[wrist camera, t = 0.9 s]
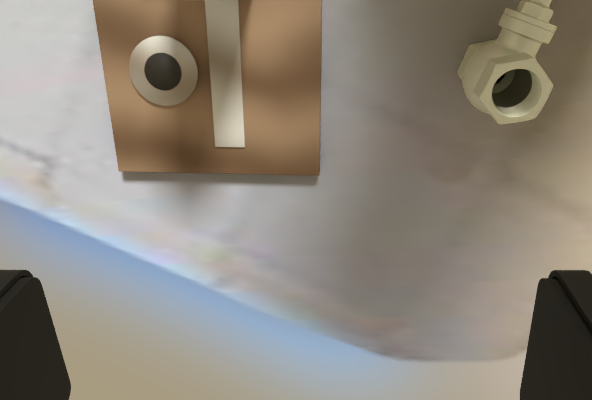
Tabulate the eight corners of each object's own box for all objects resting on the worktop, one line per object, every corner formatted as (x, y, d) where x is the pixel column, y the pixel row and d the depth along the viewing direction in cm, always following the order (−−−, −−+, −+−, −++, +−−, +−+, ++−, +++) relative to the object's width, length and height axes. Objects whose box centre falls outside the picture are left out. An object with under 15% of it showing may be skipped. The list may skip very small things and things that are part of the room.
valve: (517, 114, 36) (621, -80, 31) (553, 148, 30) (689, -86, 25) (424, 80, 36) (514, -123, 30) (441, 108, 30) (557, -139, 24)
